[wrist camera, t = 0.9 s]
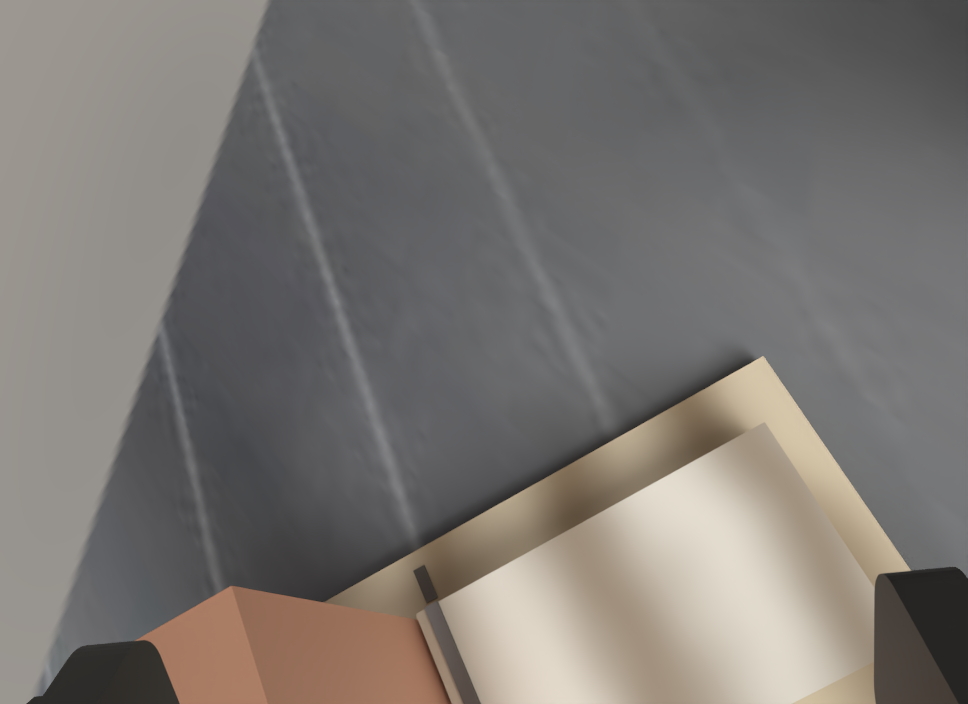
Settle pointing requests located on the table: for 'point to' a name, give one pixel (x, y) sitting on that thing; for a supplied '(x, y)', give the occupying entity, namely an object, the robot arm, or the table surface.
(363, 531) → the table surface
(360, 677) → the salmon orange block
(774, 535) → the wooden base board
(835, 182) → the table surface
